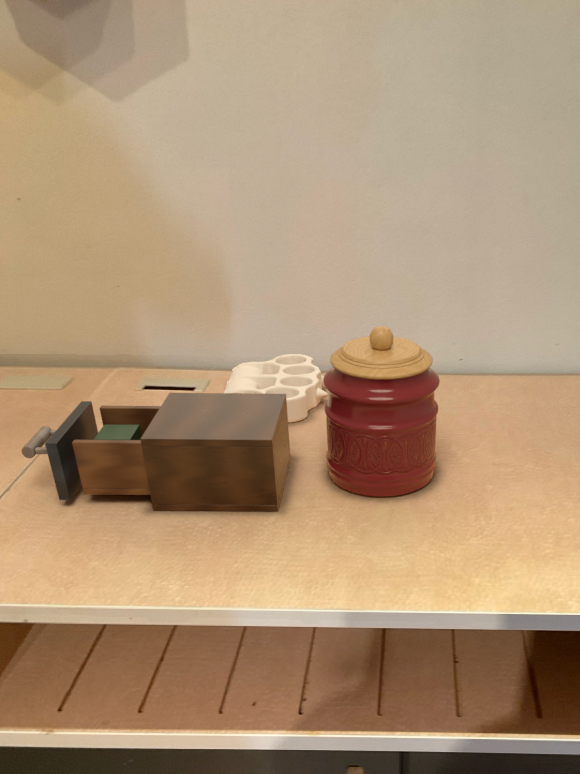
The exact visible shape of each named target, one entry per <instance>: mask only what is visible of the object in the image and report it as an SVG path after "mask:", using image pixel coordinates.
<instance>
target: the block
mask: <svg viewBox="0 0 580 774" xmlns="http://www.w3.org/2000/svg"><path fill="white" fill-rule="evenodd" d="M141 437H142V436H141V431H140V425H104V426H103V425H102V427H101V428H100V429H99V430H98V434H97V435H96V437H95V438H94V440H140V439H141Z"/></svg>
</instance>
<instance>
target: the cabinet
mask: <svg viewBox="0 0 580 774" xmlns="http://www.w3.org/2000/svg"><path fill="white" fill-rule="evenodd" d="M160 406H161V407H160V409H159V410H158V412H157V413H156V415H155V416H154V418H153V420H152V421H151V423H150V424H149V426H148V428H147V429H146V431H145V432H144V434H143V435H142V437H141V439H140V441H141V446H142V452H143V457H144V463H145V468H146V474H147V479H148V485H149V490H150V495H149V496H150V501H151V506H152V510H153V511H154V512H155V511H159V512H160V511H161V512H162V511H164V512H167V511H169V512H170V511H171V512H279V509H280V505H281V500H282V497H283V492H284V488H285V484H286V480H287V476H288V472H289V468H290V464H291V461H292V459H291V457H292V456H291V446H290V445H291V444H290V431H289V423H288V414H287V401H286V394H247V393H224V392H169V393H168V394H167V396H166V397H165V399H164V401H163V402H162V404H161V405H160Z"/></svg>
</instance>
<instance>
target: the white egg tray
mask: <svg viewBox="0 0 580 774" xmlns="http://www.w3.org/2000/svg"><path fill="white" fill-rule="evenodd" d="M323 378H324V374H322V371H321V370H320V368H319V367H318V366H317V365H315V363H314V358H313V357H311V356H310V355H307V354H302V353H301V354H300V353H288V354H287V353H286V354H281V355H278V356H275V357H274V358H272V359H270V360H266V361H247V362H242V363H239V364H238V365H236V366H235V367H233V368H232V369H231V374H230V377H229V379H228V380H227V381H226V386H225V388H224V390H223V393H247V394H286V401H287V414H288V424H289V423H291V424H292V423H297V422H300V421H302V420H303V421H304V419H307V418H308V415H309V414H308V412H309V411H310V410H312V409H314V408H316V407H317V406H318V405H319V404H320V402H321V399H322V398H324V397H326V396H327V397H328V396H329V392H326V391H325V390H323V385H324V383H323Z"/></svg>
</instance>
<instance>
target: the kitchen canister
mask: <svg viewBox="0 0 580 774" xmlns="http://www.w3.org/2000/svg"><path fill="white" fill-rule="evenodd" d="M433 360H434V359H433V356H432V354H431V353H430V352H429V351H427V350H426V349H424V348H422V347H421V346H420V345H419V344H418V343H416V342H415V341H413V340H411V339H407V338H405V337H400V336H394V334H393V332H392V330H391V328H389V327H387V326H385V325H378V326H375V327H374V328H373V329H372V330H371V331H370V333H369V336H362V337H357V338H354V339H352V340H349V341H347V342H346V343H344V344H343V346H342V347H341V346H340V347H339V348H338V349H336V350H334V352H332V353H331V354H330V357H329V362H330V365H331V366H332V367H331V368H329V370H327V371H326V373H324V374H323V376H324V378H323V383H324V384H323V386H324V387H325V389H326V390H327V391H328V394H329V395H328V396H327V397H328V398H327V400H326V402H325V404H324V409H323V410H324V414H325V418H326V419H325V420H326V441H327V442H326V443H327V444H326V445H327V451H326V456H325V458H326V466H327V469H328V472H329V477H330V479H331V480H332V481H333V483H334V484H335V485H336V486H338V487H340V488H341V489H344V490H345V491H348V492H350V493H354V494H357V495H362V496H368V497H393V496H394V497H395V496H402V495H406V494H409V493H413V492H415V491H418V490H420V489H422V488H424V487H425V486H426V485H428V484H429V483H430V482H431V481H432V479H433V477H434V473H435V470H436V467H437V457H438V455H437V451H436V442H437V441H436V440H437V439H436V438H437V416H438V413H439V405H438V402H437V401H436V399H435V391H436V390H437V389H438V388H439V386H440V383H441V381H440V376H439V375H438V373H437V371H435V370H434V369H433V368H431V366H432V365H433Z"/></svg>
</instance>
